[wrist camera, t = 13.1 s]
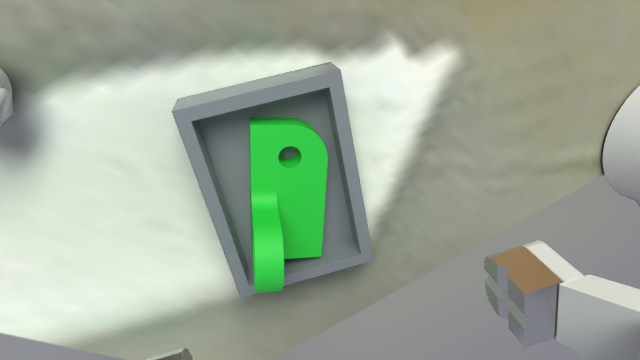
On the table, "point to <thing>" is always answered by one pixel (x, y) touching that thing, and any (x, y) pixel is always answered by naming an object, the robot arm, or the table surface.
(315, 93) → the tray
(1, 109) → the white sculpted head
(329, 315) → the table surface
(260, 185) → the mechanical part
